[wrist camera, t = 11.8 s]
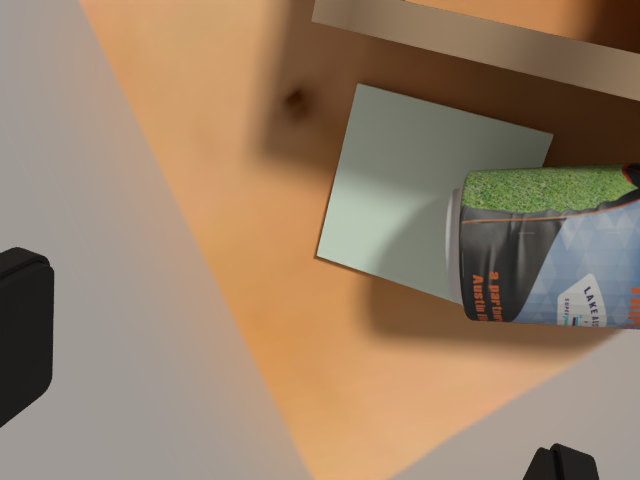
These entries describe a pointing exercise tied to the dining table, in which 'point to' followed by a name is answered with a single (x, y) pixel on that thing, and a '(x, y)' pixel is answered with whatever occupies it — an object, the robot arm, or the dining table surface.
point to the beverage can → (547, 245)
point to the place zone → (411, 182)
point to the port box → (488, 43)
